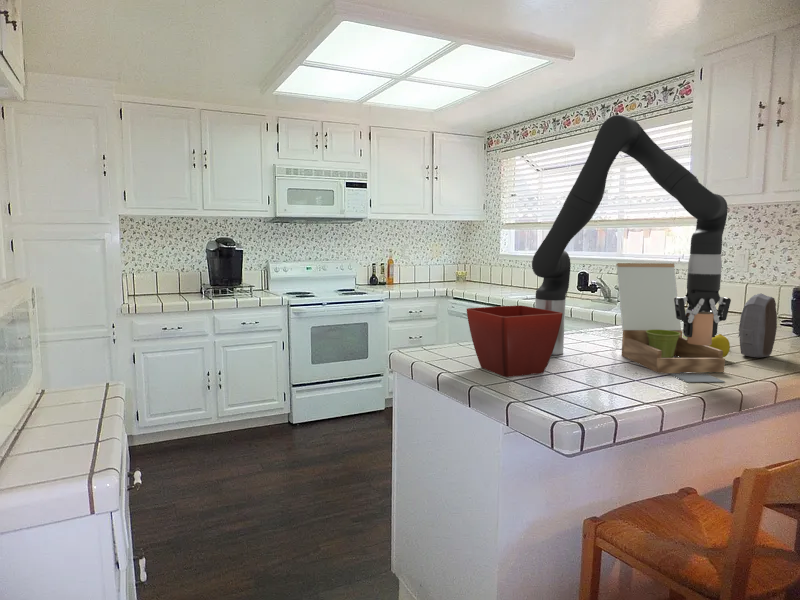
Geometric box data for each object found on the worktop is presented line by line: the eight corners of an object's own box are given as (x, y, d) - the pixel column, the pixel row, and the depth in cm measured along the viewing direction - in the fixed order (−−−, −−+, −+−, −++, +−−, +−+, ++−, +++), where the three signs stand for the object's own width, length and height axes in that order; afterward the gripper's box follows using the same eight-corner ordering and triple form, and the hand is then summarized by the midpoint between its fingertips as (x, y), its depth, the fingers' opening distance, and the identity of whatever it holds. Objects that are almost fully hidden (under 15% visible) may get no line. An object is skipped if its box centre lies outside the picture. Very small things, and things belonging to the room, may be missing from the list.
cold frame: (658, 373, 147) (660, 344, 146) (621, 355, 169) (622, 330, 168) (724, 373, 148) (726, 344, 147) (678, 355, 170) (680, 330, 169)
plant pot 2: (684, 364, 158) (686, 335, 157) (652, 363, 159) (654, 334, 158) (669, 357, 168) (671, 329, 167) (639, 356, 168) (640, 329, 167)
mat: (686, 382, 138) (686, 381, 137) (669, 374, 145) (669, 373, 145) (724, 382, 138) (725, 381, 138) (706, 374, 146) (706, 373, 146)
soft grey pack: (759, 361, 162) (765, 295, 160) (729, 356, 169) (734, 293, 167) (776, 355, 172) (782, 292, 170) (746, 350, 178) (751, 290, 176)
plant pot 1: (463, 366, 154) (464, 307, 152) (519, 360, 161) (521, 304, 159) (501, 382, 136) (503, 316, 134) (562, 375, 144) (564, 313, 142)
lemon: (727, 359, 166) (729, 333, 165) (729, 362, 161) (732, 336, 160) (707, 357, 168) (708, 331, 167) (708, 360, 163) (710, 334, 162)
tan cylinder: (695, 345, 138) (697, 312, 137) (682, 341, 143) (684, 310, 142) (716, 345, 138) (718, 313, 137) (703, 341, 143) (705, 310, 143)
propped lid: (622, 356, 169) (627, 264, 166) (606, 348, 181) (610, 262, 177) (679, 356, 170) (685, 264, 167) (659, 348, 181) (665, 262, 178)
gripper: (685, 272, 135) (680, 339, 136) (741, 273, 135) (736, 339, 137) (669, 271, 142) (665, 334, 144) (722, 271, 143) (717, 334, 144)
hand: (699, 336), depth 140 cm, fingers closed on tan cylinder, 5 cm apart
